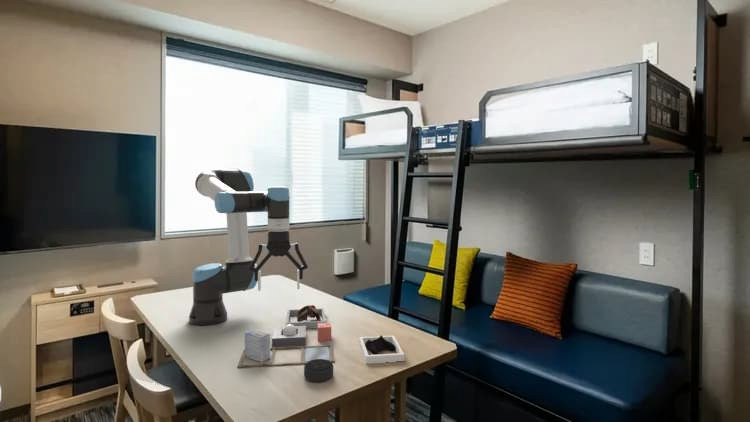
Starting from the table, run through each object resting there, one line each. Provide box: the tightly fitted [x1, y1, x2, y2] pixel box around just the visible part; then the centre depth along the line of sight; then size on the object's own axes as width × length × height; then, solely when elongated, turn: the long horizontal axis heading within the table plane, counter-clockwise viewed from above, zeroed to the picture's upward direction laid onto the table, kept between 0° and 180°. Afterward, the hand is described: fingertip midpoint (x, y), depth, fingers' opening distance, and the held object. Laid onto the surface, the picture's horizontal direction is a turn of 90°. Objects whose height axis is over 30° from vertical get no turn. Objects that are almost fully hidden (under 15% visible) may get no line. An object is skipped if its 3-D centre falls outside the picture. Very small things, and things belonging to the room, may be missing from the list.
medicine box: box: [244, 328, 271, 363], centre depth 141 cm, size 8×4×9 cm, turn 58°
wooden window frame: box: [237, 344, 336, 369], centre depth 143 cm, size 31×14×1 cm, turn 99°
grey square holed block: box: [271, 326, 307, 348], centre depth 158 cm, size 12×12×3 cm
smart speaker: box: [303, 359, 334, 383], centre depth 129 cm, size 9×9×4 cm
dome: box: [283, 324, 296, 335], centre depth 157 cm, size 5×5×6 cm
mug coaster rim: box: [285, 307, 327, 330], centre depth 178 cm, size 16×18×2 cm
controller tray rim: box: [358, 335, 405, 365], centre depth 147 cm, size 13×17×2 cm
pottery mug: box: [296, 304, 322, 322], centre depth 177 cm, size 12×10×8 cm
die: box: [317, 321, 332, 342], centre depth 160 cm, size 5×5×6 cm
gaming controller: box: [365, 335, 395, 355], centre depth 147 cm, size 11×4×7 cm
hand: (279, 289), depth 150 cm, fingers open, 13 cm apart
